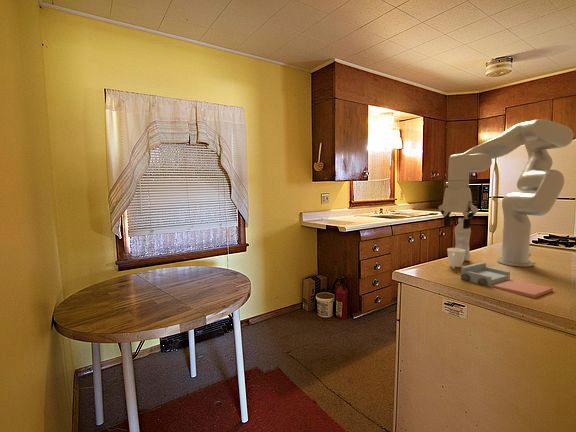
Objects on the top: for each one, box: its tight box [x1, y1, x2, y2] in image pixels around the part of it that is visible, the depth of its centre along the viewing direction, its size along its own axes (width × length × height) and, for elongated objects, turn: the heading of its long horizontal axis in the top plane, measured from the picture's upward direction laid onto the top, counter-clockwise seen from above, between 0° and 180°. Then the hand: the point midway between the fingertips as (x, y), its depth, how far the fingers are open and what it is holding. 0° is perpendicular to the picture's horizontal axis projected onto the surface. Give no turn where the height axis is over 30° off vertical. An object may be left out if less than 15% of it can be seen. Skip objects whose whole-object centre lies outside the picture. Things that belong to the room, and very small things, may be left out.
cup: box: [446, 247, 466, 270], centre depth 125 cm, size 7×10×8 cm
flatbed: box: [460, 261, 511, 288], centre depth 110 cm, size 15×11×5 cm
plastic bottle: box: [454, 217, 472, 263], centre depth 136 cm, size 6×7×20 cm
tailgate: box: [492, 279, 554, 299], centre depth 100 cm, size 12×12×1 cm
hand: (456, 227), depth 124 cm, fingers open, 7 cm apart
